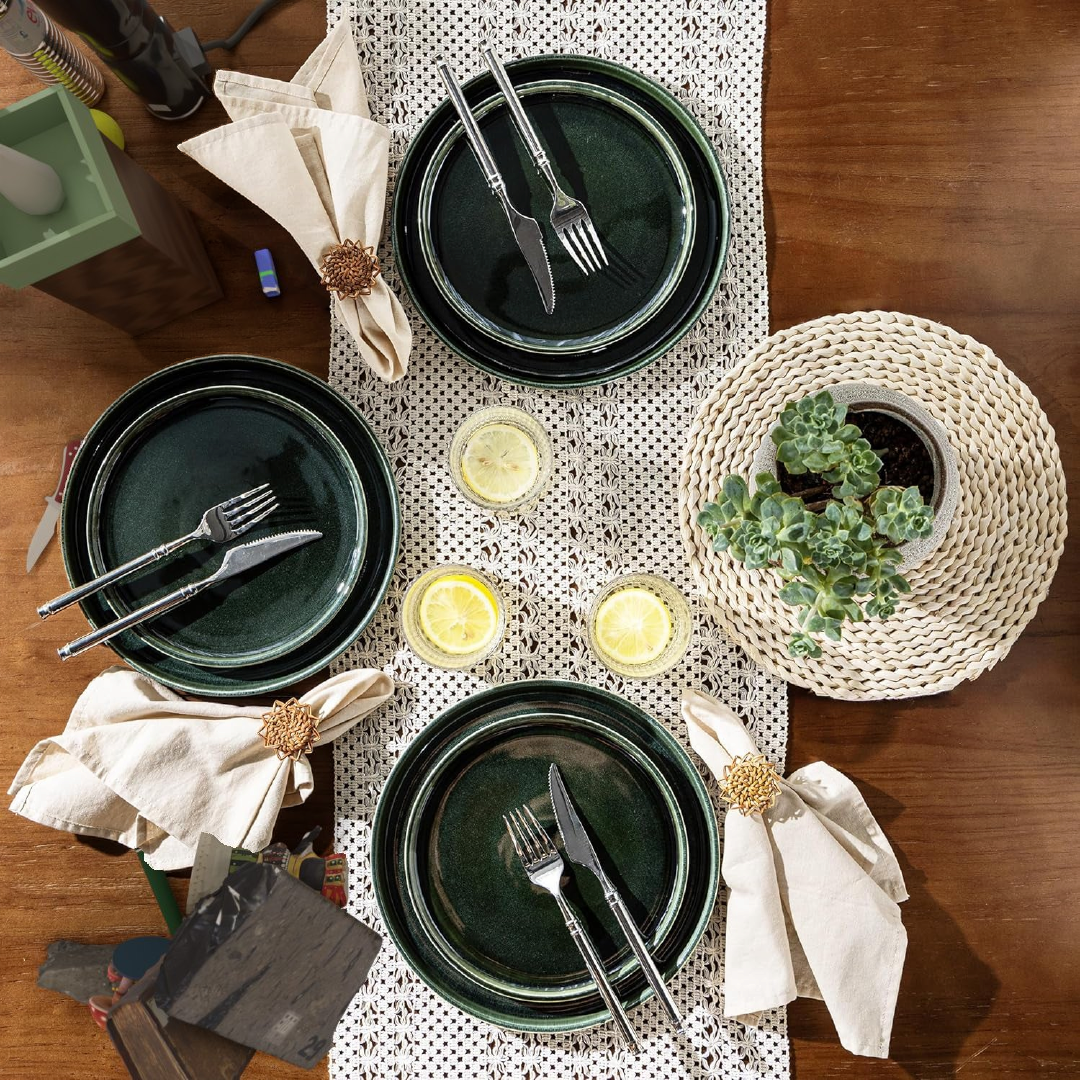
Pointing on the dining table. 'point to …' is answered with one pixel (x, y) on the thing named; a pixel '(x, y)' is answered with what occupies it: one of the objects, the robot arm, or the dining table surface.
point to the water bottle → (47, 51)
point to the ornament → (108, 127)
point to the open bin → (87, 180)
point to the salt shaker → (29, 183)
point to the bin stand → (141, 261)
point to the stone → (78, 970)
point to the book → (169, 1040)
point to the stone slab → (267, 964)
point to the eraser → (267, 272)
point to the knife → (51, 509)
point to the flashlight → (163, 894)
